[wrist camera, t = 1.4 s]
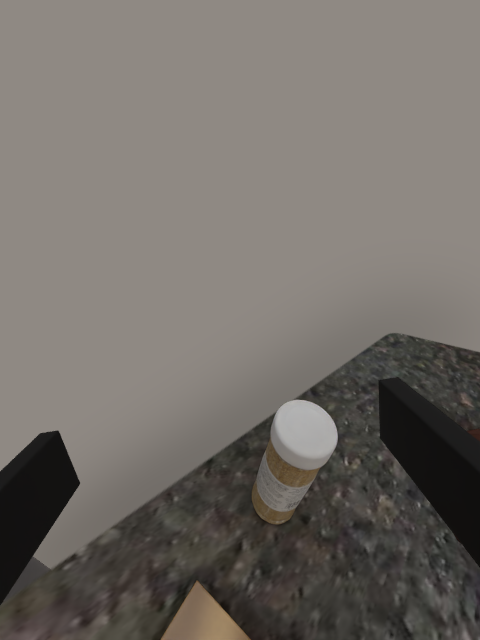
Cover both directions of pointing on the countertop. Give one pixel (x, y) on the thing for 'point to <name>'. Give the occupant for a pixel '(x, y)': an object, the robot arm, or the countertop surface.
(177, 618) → the cutting board
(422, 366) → the countertop surface
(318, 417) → the sprinkles bottle
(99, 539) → the countertop surface
